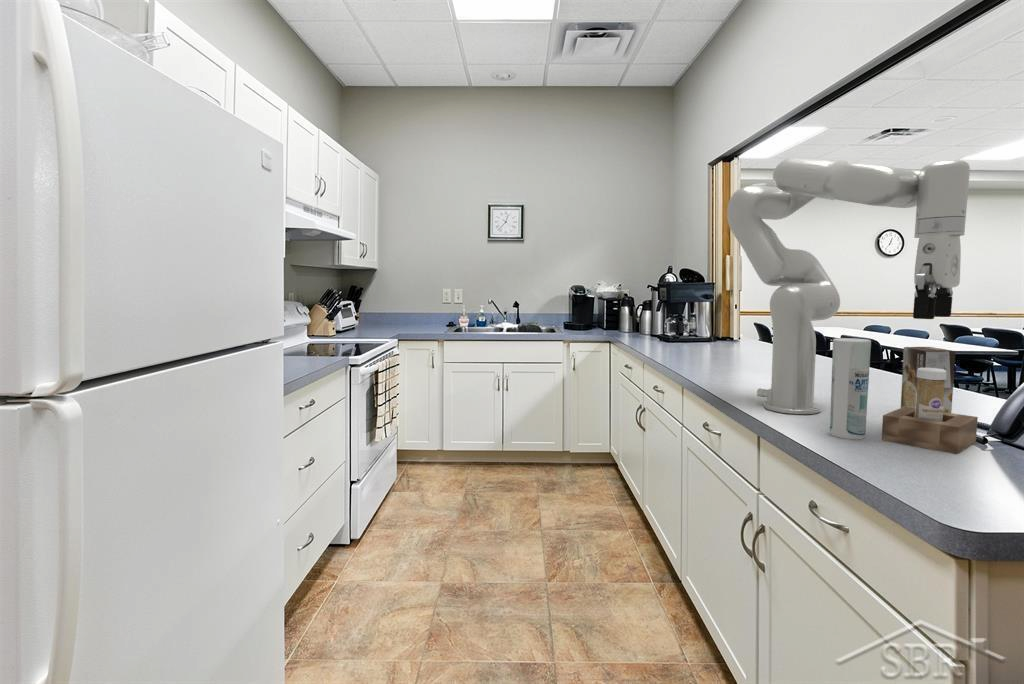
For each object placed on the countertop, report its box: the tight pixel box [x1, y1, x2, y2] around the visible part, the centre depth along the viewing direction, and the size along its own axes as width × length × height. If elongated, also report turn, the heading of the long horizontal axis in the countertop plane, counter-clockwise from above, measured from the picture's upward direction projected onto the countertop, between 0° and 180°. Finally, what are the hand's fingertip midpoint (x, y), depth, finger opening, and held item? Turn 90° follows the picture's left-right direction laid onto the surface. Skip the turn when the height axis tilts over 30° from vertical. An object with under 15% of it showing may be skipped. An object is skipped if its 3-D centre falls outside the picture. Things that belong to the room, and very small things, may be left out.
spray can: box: [829, 337, 872, 440], centre depth 108 cm, size 6×6×20 cm
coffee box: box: [900, 346, 956, 413], centre depth 123 cm, size 9×6×16 cm
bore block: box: [881, 407, 979, 455], centre depth 104 cm, size 12×12×5 cm
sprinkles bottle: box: [914, 368, 946, 421], centre depth 104 cm, size 5×5×13 cm
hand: (932, 317), depth 103 cm, fingers open, 9 cm apart
